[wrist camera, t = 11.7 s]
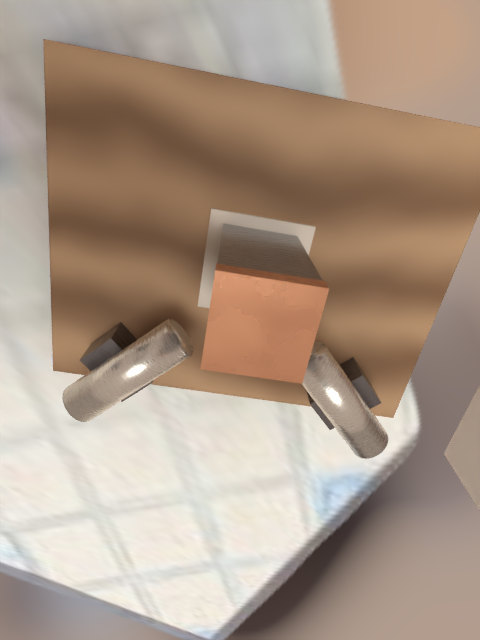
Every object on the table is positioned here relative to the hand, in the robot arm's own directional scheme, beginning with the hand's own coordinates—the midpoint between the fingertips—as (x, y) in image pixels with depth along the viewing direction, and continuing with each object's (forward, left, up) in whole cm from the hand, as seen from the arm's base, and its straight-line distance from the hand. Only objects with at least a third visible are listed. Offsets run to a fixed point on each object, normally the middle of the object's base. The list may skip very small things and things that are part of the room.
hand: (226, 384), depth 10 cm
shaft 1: (+10, -5, -18) cm, 22 cm away
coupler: (+2, +2, -18) cm, 18 cm away
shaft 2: (+10, +9, -18) cm, 23 cm away
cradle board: (+2, +2, -20) cm, 20 cm away
